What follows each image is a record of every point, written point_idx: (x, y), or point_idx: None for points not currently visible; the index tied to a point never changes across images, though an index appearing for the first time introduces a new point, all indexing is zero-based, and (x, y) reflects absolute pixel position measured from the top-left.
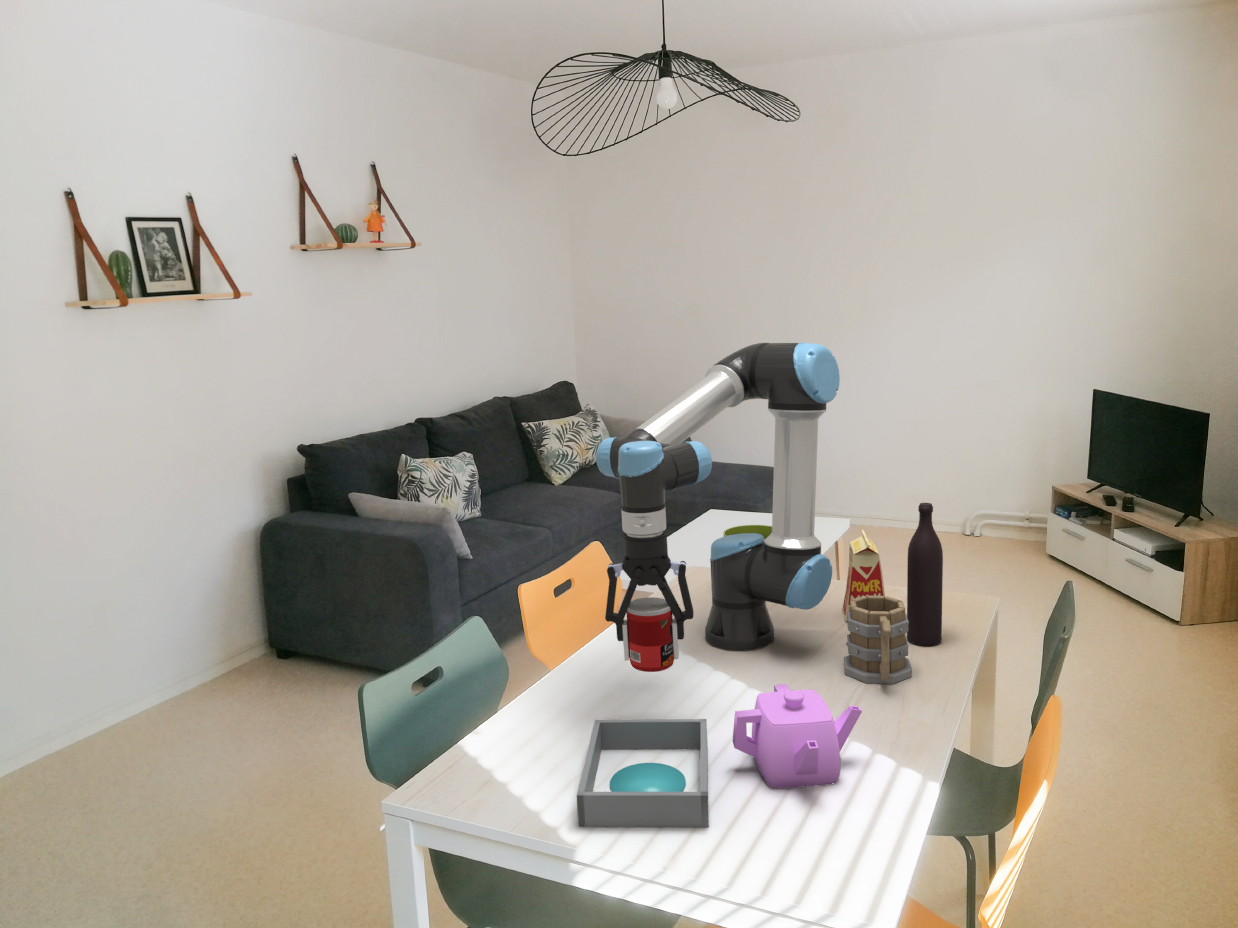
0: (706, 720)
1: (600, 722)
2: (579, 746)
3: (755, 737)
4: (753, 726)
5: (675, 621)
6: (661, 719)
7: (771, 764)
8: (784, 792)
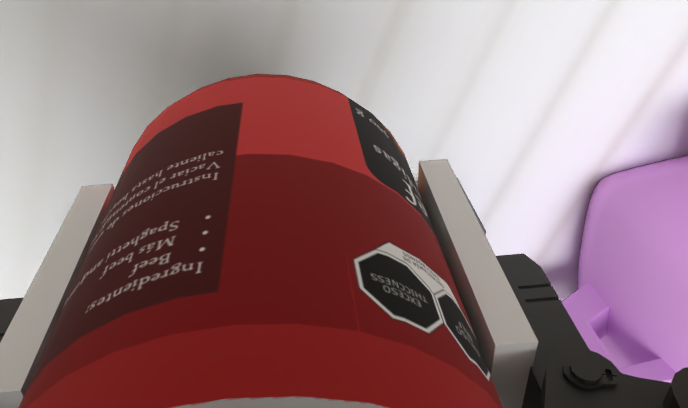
0: (484, 232)
1: None
2: (35, 209)
3: (615, 329)
4: (629, 293)
5: (513, 396)
6: None
7: None
8: None
